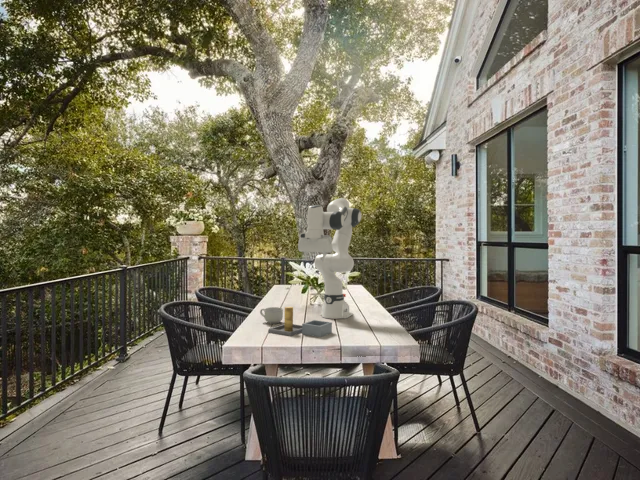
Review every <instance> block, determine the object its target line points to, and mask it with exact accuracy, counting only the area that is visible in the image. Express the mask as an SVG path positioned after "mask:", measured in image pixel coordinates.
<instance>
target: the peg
mask: <svg viewBox="0 0 640 480" xmlns="http://www.w3.org/2000/svg"><path fill="white" fill-rule="evenodd" d="M283 324H284V331H288V332H290V331H293V324H294V307H293V306H285V307H284V322H283Z"/></svg>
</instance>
